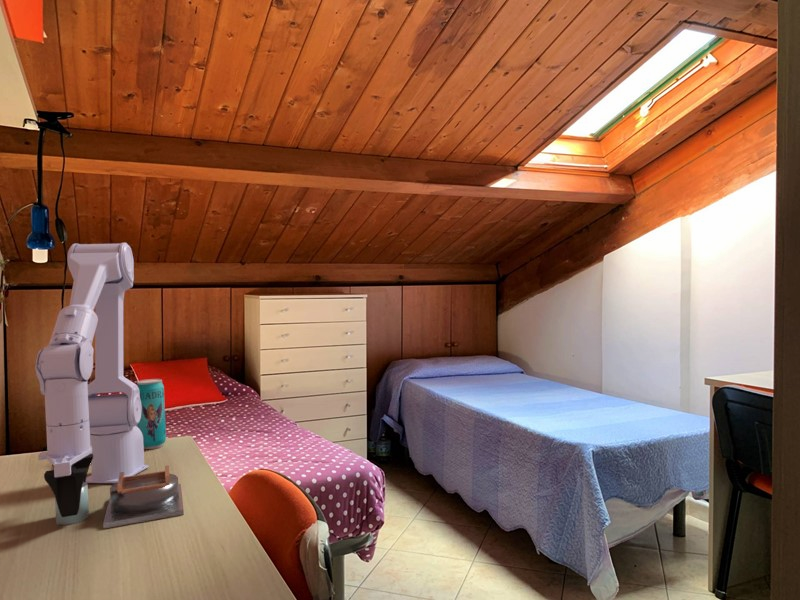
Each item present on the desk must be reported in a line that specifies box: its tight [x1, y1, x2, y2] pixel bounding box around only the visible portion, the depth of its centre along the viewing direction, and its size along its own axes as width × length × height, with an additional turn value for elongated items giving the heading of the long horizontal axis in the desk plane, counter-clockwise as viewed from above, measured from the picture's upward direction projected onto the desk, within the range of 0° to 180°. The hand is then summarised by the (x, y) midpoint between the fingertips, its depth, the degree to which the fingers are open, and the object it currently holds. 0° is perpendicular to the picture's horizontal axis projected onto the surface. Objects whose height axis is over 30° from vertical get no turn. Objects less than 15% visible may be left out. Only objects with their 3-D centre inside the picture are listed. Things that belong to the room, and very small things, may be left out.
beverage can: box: [136, 378, 167, 450], centre depth 126 cm, size 6×6×15 cm
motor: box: [102, 465, 185, 530], centre depth 90 cm, size 13×11×5 cm
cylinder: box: [54, 482, 90, 526], centre depth 87 cm, size 4×4×5 cm
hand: (72, 509), depth 87 cm, fingers closed on cylinder, 4 cm apart
